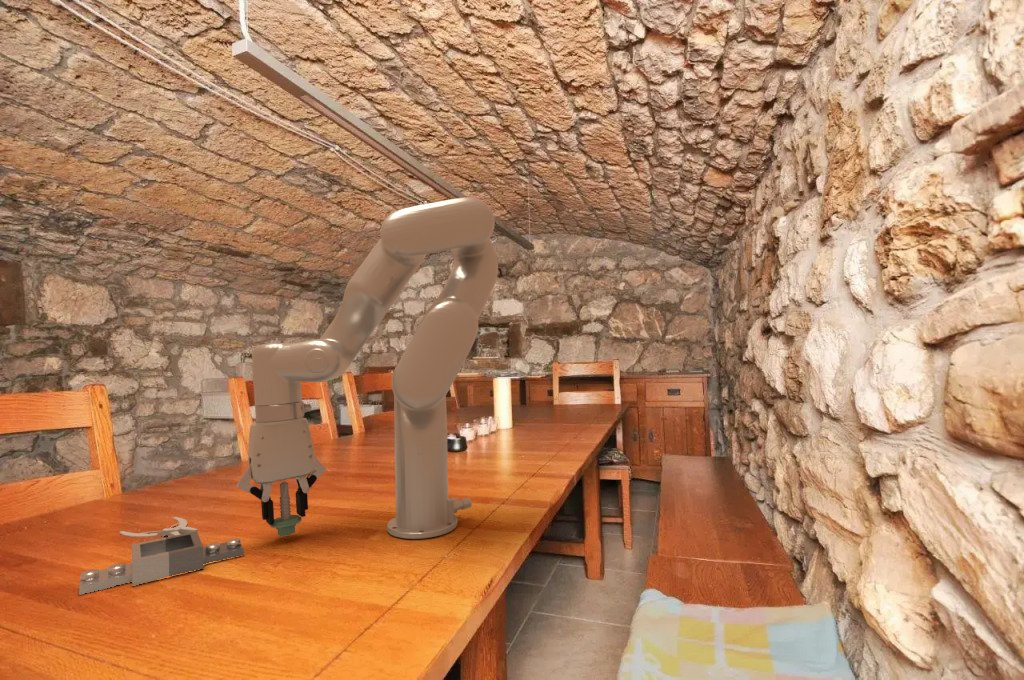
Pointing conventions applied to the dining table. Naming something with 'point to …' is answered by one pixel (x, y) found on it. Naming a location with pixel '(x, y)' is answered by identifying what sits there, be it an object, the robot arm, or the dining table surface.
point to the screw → (285, 514)
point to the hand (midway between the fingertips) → (285, 517)
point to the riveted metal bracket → (160, 561)
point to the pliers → (165, 530)
